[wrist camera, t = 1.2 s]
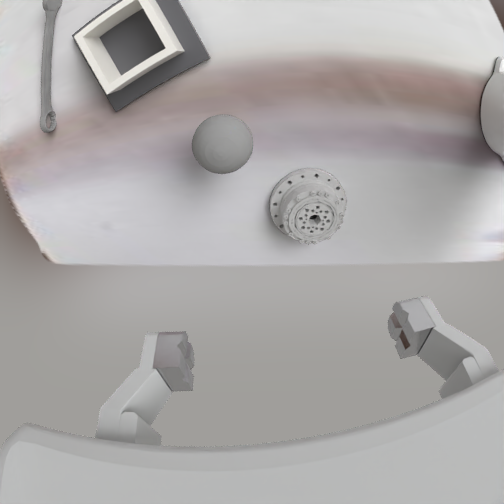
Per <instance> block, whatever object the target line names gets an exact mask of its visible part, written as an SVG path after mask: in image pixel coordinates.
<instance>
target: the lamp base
mask: <svg viewBox="0 0 504 504" xmlns="http://www.w3.org/2000/svg"><path fill="white" fill-rule="evenodd" d="M72 37H73V38H74V40H75V42H76V44H77V46H78V47H79V49H80V51H81V53H82V55H83V56H84V58H85V60H86V62H87V63H88V65H89V67H90V69H91V70H92V72H93V74H94V76H95V77H96V79H97V81H98V83H99V84H100V86H101V88H102V89H103V91H104V93H105V95H106V96H107V98H108V100H109V101H110V103H111V105H112V106H113V108H114V110H115V111H116V112H117V111H118V110H120V109H121V108H123V107H124V106H126V105H127V104H129V103H131V102H132V101H134V100H135V99H137V98H138V97H140V96H141V95H143V94H145V93H146V92H148V91H150V90H151V89H153V88H155V87H156V86H158V85H160V84H161V83H163V82H165V81H167V80H169V79H170V78H172V77H174V76H176V75H178V74H179V73H181V72H183V71H185V70H187V69H189V68H191V67H193V66H195V65H197V64H199V63H201V62H203V61H205V60H207V59H209V58H210V56H209V54H208V52H207V50H206V48H205V47H204V45H203V43H202V41H201V39H200V38H199V36H198V34H197V32H196V30H195V29H194V27H193V25H192V23H191V21H190V20H189V18H188V16H187V14H186V13H185V11H184V9H183V7H182V6H181V4H180V2H179V1H178V0H119V1H117V2H116V3H114V4H113V5H111V6H110V7H108V8H107V9H106V10H104V11H103V12H101V13H100V14H99V15H97V16H96V17H95V18H93V19H92V20H91V21H89V22H88V23H87V24H85V25H84V26H83V27H82V28H80V29H79V30H78V31H77V32H75V33H74V34H73V35H72Z"/></svg>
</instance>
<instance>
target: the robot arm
mask: <svg viewBox="0 0 504 504" xmlns="http://www.w3.org/2000/svg"><path fill="white" fill-rule="evenodd" d="M481 125H482V130H483V134H484V137H485V139H486V142H487V144H488V145H489V147H490V148H491V149H492V150H493V151H494V152H496V153H497V154H499V155H500V156H501V157H502V159H503V161H504V58H503V57H498V58H497V61H496V64H495V69H494V73H493V75H492V77H491V78H490V80H489V81H488V83H487V85H486V87H485V90H484V93H483V97H482V103H481ZM393 311H394V312H393V313H392V314H391V315H390V317H389V320H388V329H389V333H390V336H391V338H393V339H394V340H395V341H396V345H395V347H396V349H397V352H398V354H399V356H400V359H402V358H406V357H410V356H414V355H417V354H418V356H419V357H420V358H421V359H422V360H423V361H424V362H425V363H427V364H428V365H429V366H430V367H431V368H432V369H433V370H435V371H436V372H437V373H438V374H439V375H440V376H441V377H442V378H444V379H445V380H446V382H445V383H444V384H443V385H442V386H441V388H440V390H439V393H440V395H441V398H442V399H441V400H438V401H436V402H433V403H431V404H428V405H426V406H423V407H421V408H418V409H415V410H412V411H409V412H406V413H404V414H400V415H397V416H394V417H391V418H388V419H384V420H381V421H378V422H374V423H371V424H367V425H363V426H360V427H355V428H351V429H347V430H343V431H339V432H334V433H329V434H324V435H319V436H314V437H308V438H301V439H296V440H288V441H281V442H272V443H263V444H253V445H239V446H216V447H180V446H179V447H178V446H161V436H160V434H159V433H158V432H156V431H155V430H154V429H153V428H152V427H151V424H152V423H153V421H154V420H155V418H156V417H157V415H158V414H159V412H160V411H161V409H162V407H163V406H164V405H165V403H166V401H167V400H168V398H169V397H170V395H171V394H172V391H192V390H193V377H194V376H193V374H192V372H191V369H192V368H193V366H194V352H193V348H192V345H191V343H189V342H188V336H187V334H186V332H185V331H184V332H154V333H147V334H146V336H145V339H144V344H143V349H142V355H141V360H140V365H139V368H138V369H135V370H134V371H133V372H132V373H131V374H130V375H129V377H128V378H127V379H126V380H125V381H124V382H123V383H122V384H121V386H120V387H119V388H118V389H117V390H116V391H115V392H114V393H113V395H112V396H111V397H110V398H109V399H108V400H107V401H106V402H105V404H104V405H103V406H102V407H101V408H100V414H99V419H98V424H97V430H96V436H95V438H92V437H86V436H81V435H76V434H71V433H67V432H63V431H58V430H54V429H50V428H47V427H43V426H39V425H36V424H32V423H24V424H23V425H21V426H20V427H19V428H18V429H17V430H15V431H14V432H13V433H12V434H11V435H10V436H9V437H8V438H7V439H6V441H5V442H4V443H3V445H2V448H1V450H0V504H504V369H502V370H501V371H498V369H497V367H496V365H495V363H494V361H493V359H492V357H491V355H490V354H489V352H488V350H487V348H485V347H484V346H482V345H481V344H479V343H478V342H476V341H475V340H473V339H472V338H470V337H469V336H467V335H465V334H464V333H462V332H461V331H459V330H458V329H456V328H455V327H453V326H452V325H450V324H448V323H447V324H445V322H444V321H443V319H442V317H441V316H440V314H439V312H438V311H437V309H436V307H435V306H434V304H433V302H432V301H431V299H430V298H429V297H428V296H422V297H418V298H412V299H408V300H404V301H400V302H396V303H395V304H394V306H393Z"/></svg>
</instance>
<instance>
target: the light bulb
mask: <svg viewBox="0 0 504 504" xmlns="http://www.w3.org/2000/svg"><path fill="white" fill-rule="evenodd" d="M192 150H193V154H194V156H195V158H196V160H197V161H198V163H199V164H200V165H201V166H202V167H203V168H205V169H206V170H208V171H210V172H213V173H218V174H226V173H231V172H234V171H236V170H238V169H239V168H241V167H242V166H243V165H244V164H245V163H246V162H247V161H248V160H249V158H250V156H251V154H252V150H253V138H252V134H251V132H250V130H249V128H248V126H247V125H246V124H245V123H244V122H243V121H241V120H240V119H238V118H236V117H234V116H230V115H216V116H212V117H210V118H208V119H206V120H205V121H203V122H202V123H201V124H200V125H199V127H198V128H197V130H196V132H195V134H194V136H193V140H192Z"/></svg>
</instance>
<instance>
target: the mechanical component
mask: <svg viewBox="0 0 504 504" xmlns="http://www.w3.org/2000/svg"><path fill="white" fill-rule="evenodd" d="M346 203H347V200H346V195H345V191H344V189H343V188H342V186H341V185H340V183H339V182H338V180H337V179H336V178H335V177H334V176H333V175H331V174H330V173H328V172H326V171H323V170H321V169H313V168H305V169H300V170H297V171H294V172H291V173H290V174H288V175H287V176H286V177H284V178H283V179H281V180H280V182H279V183H278V184H277V185H276V186H275V188H274V190H273V192H272V195H271V198H270V212H271V216H272V219H273V222H274V223H275V225H276V226H277V228H278V229H279V230H280V231H281V232H283V233H284V234H286V235H288V236H290V237H292V238H293V239H295V240H297V241H299V242H300V243H303V242H304V243H306V244H308V245H309V244H310V243H313V244H317V242H320V241H323V240H325V239H330V237H331V236H332V235H333V234H334V233H335V232H336V231H337V230H338V229H340V225H341V223H343V220H342V219H343V216H344V213H345V210H346Z"/></svg>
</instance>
